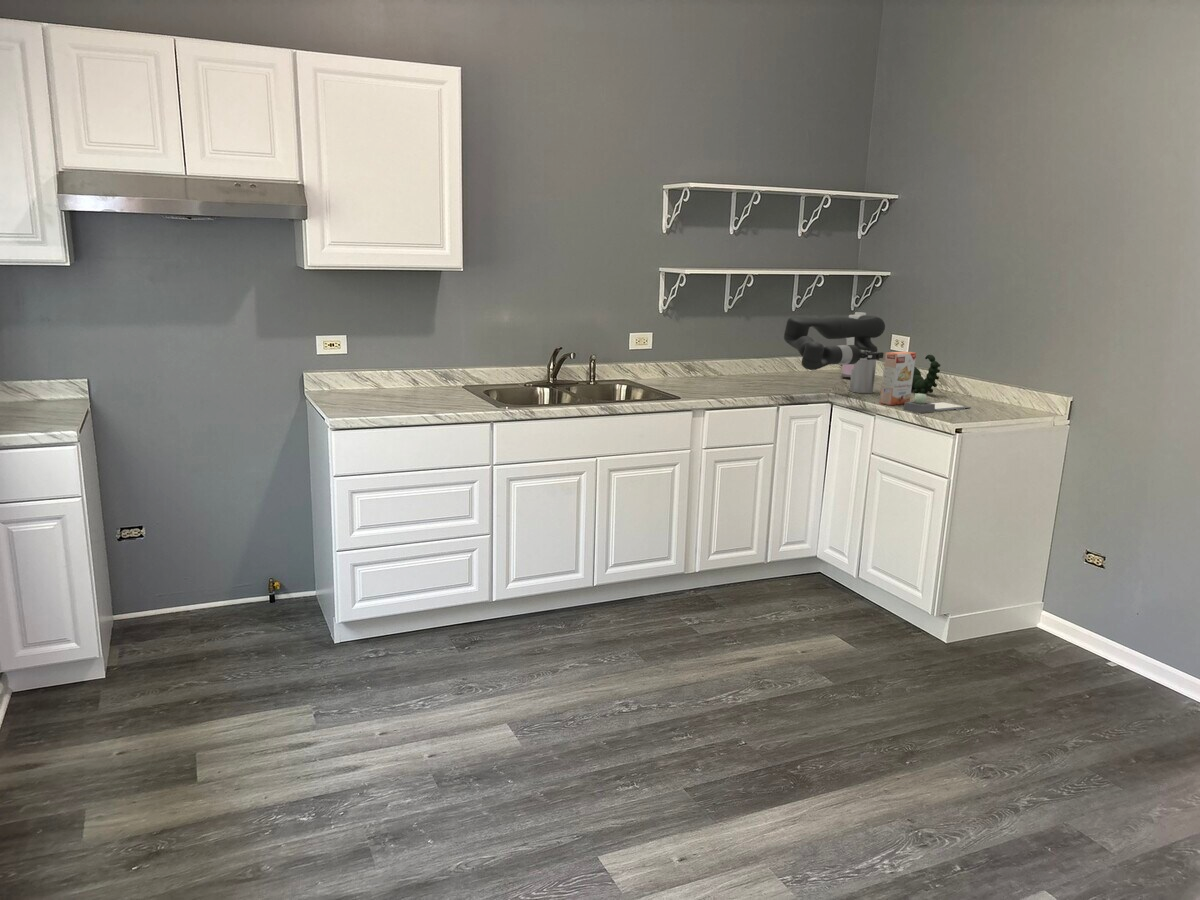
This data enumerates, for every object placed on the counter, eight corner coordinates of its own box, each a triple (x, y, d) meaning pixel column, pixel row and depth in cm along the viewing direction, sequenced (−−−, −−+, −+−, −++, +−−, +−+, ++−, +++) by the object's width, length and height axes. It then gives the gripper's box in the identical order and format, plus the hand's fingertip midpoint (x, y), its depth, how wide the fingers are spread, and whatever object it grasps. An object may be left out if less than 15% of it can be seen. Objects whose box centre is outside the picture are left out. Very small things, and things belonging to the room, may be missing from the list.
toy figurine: (940, 400, 377) (906, 386, 400) (948, 357, 371) (913, 345, 394) (921, 400, 374) (888, 386, 397) (929, 357, 368) (895, 345, 391)
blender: (871, 379, 424) (878, 313, 417) (861, 381, 415) (868, 314, 408) (840, 375, 434) (847, 311, 426) (830, 377, 424) (836, 311, 417)
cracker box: (891, 406, 346) (897, 353, 341) (878, 403, 350) (884, 352, 345) (911, 403, 354) (917, 352, 350) (897, 401, 359) (903, 350, 354)
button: (911, 403, 336) (912, 393, 336) (918, 403, 339) (919, 393, 338) (920, 405, 333) (921, 395, 332) (927, 405, 335) (928, 394, 334)
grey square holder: (903, 409, 338) (904, 402, 337) (917, 408, 342) (918, 401, 341) (920, 413, 331) (921, 405, 330) (934, 411, 335) (935, 404, 334)
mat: (908, 405, 348) (908, 403, 348) (941, 402, 358) (941, 401, 358) (937, 411, 336) (937, 409, 336) (970, 408, 346) (970, 406, 346)
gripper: (859, 347, 325) (889, 346, 333) (832, 343, 337) (861, 342, 345) (857, 366, 327) (887, 365, 335) (830, 362, 339) (859, 361, 347)
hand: (874, 353), depth 340 cm, fingers open, 8 cm apart
